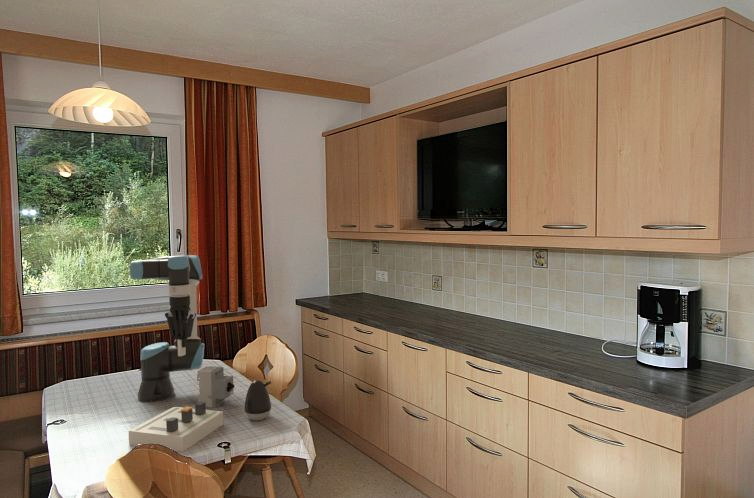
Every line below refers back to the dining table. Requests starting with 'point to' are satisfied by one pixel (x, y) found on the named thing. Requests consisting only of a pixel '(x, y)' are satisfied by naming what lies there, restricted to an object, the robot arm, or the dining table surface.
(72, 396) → the dining table surface
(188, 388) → the dining table surface
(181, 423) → the breaker panel
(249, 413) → the pump dispenser
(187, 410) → the block
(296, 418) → the dining table surface
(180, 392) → the dining table surface
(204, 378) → the circuit breaker
